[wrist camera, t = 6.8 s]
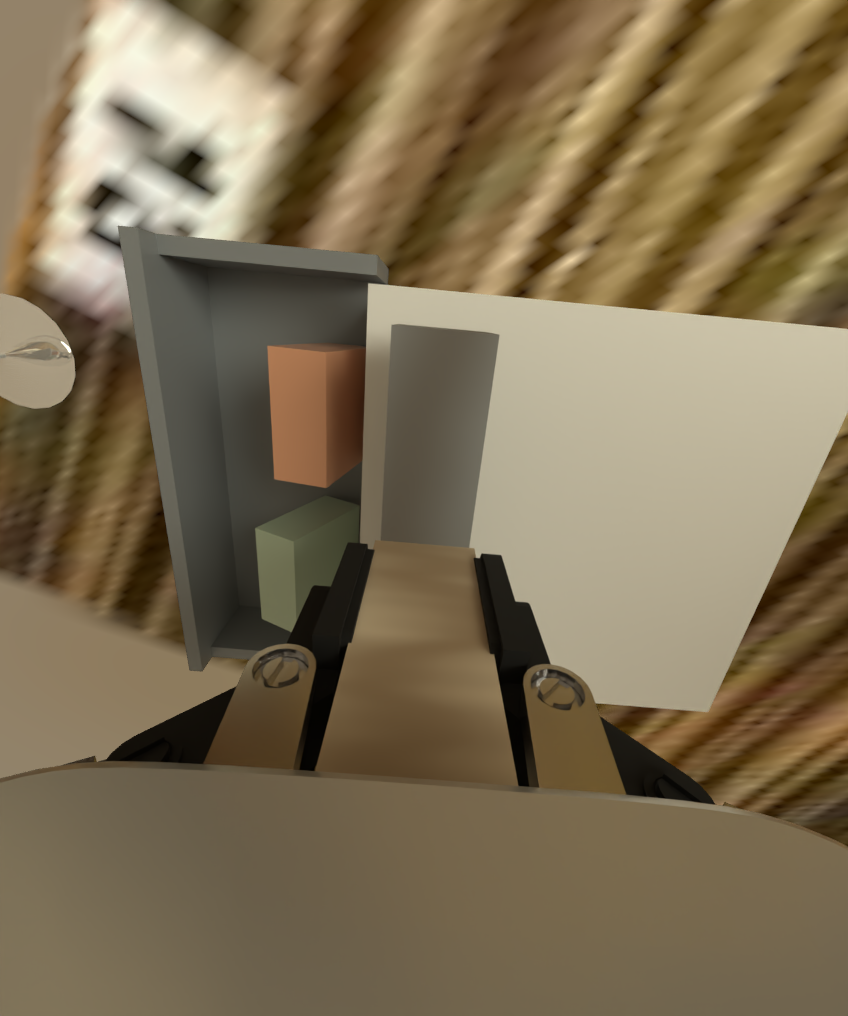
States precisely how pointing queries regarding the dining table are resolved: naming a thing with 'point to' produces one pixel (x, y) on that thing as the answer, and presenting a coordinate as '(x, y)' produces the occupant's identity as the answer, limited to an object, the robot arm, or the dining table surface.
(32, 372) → the wineglass
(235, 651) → the tray
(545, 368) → the white flat square block
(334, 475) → the terracotta tile
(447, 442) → the scraper
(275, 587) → the green tile
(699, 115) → the dining table surface
